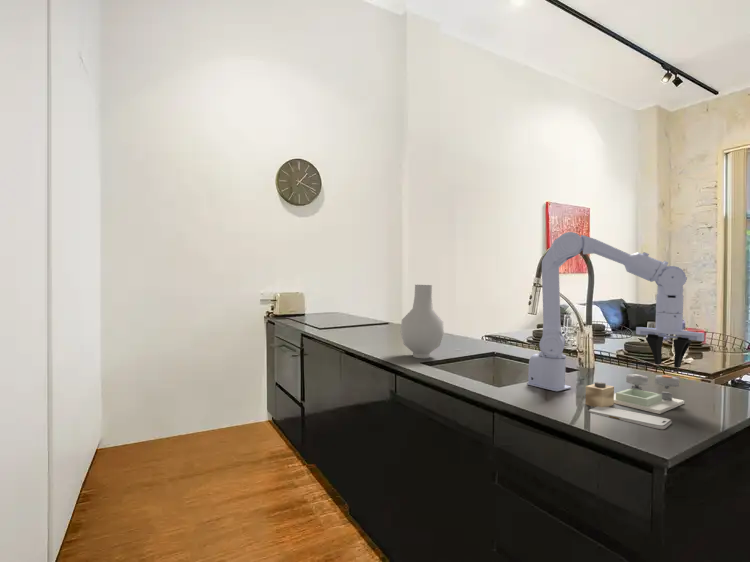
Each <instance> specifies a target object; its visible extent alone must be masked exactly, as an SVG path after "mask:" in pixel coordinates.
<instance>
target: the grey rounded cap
mask: <svg viewBox="0 0 750 562" xmlns="http://www.w3.org/2000/svg"><path fill="white" fill-rule="evenodd" d="M654 382H655V384H656V385H659V386H662V387H663V386H664V389H666V390H669V389H670V388H679V387H680V378H679V377H676V376H672V375H666V374H665V375H664V374H663V375H659V374H656V375H655V381H654Z"/></svg>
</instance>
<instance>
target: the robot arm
mask: <svg viewBox="0 0 750 562" xmlns="http://www.w3.org/2000/svg"><path fill="white" fill-rule="evenodd" d="M581 252H582V255H593V254H595V255H598V256H600V257H603V258H605V259H608V260H610V261H613V262H616V263H618V264H621V265H623V266H624V268H625V271H626V272H627V273H629V274H631V275H634V276H636V277H639V278H641V279H644V280H646V281H649V282H650V283H652V282H655V284H656V285H657V292H656V296H655V297H656V298H655V302H656V303H655V325H654V326H655V327H643V326H636V327H635V335H641V336H642V335H643V336H645V340H646V343H647V344H648V346H649V348H650V351H651V353H652V356H653V359H654V365H656V366H657V365H658V366H659V365H662V362H663V361H662V357H663V356H662V350H663V349H662V348H663V342H664V338H671V339H673V348H674V359H673V360H674V361H673V366H674V368H675V369H677V368H678V369H680V368H681V366H682V362H683V359H684V356H685V355H686V353H687V351H688V349H689V348H690V346H691V344H692V342H693V341H697V342H704V341H705V332H698V331H697V332H696V331H688V330H683V327H684V326H683V321H684V320H683V319H684V285H685V284H686V283H687V280H688V276H686V272H685V271H684V270H683V269H682V268H681V267H679V266H675V265H668V264H669V261H666V260H664V261H661V260H658V259H656V258H654V257H651V256H649V255H650V254H649V253H648V252H643V253H641V252H634V253H631V254H630V253H628V252H625V251H623V250H620V248H619V249H618V248H616V247H614V246H612V245H610V244H608V243H605V242H603V241H601V240H598V239H596V238H593V237H589V236H587V235H583V234H580V235H579V234H578V233H577V232H574V231H567V232H564V233H563V234H561V235H560V236H558V237H557V238H556V239H555V240H554V241H553V242H552V245H551V246H550V248H549V249H548V251H547V252H546V254H545V255H544V256H543V258H542V260H541V283H542V284H541V286H542V321H543V322H542V323H543V325H542V337H540V341H539V343H538V345H539V349H540V351H539V352H538V353H533V354H532V355H531V356H530V358H529V361H528V375H527V377H528V381H527V382H526V385H528V386H533V387H535V388H541V389H545V390H549V391H553V392H561V391H564V390H570V389H572V386H570V385H567V384H566V366H567V365H566V363H567V361H566V360H567V355H566V354H565V353H564V352H563V351H564V348H565V345H566V339H565V338H564V335H563V333H562V326H561V294H560V292H561V291H560V267H561V266H563V265H564V264H565V263H566V262H567V261H568V260H570V259H573V258H575V257H576V256H578V255H580V253H581Z"/></svg>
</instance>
